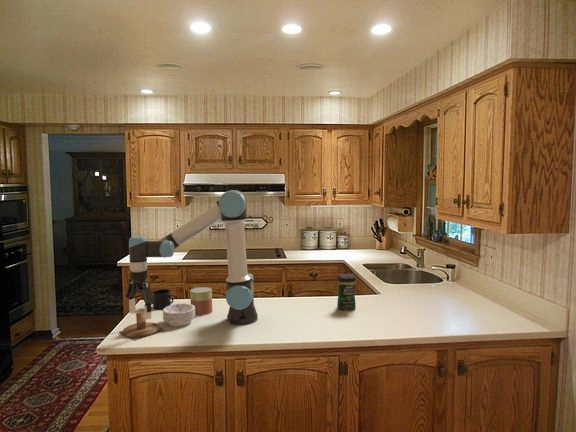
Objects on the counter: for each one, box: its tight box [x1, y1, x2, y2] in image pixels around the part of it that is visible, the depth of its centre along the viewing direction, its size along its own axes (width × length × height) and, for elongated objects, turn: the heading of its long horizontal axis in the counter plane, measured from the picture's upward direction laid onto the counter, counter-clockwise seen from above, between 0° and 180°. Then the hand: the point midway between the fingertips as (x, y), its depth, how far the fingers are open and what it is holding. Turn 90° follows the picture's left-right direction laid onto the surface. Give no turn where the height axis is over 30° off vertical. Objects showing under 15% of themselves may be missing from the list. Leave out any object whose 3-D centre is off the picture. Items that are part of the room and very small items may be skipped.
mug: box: [151, 288, 174, 311], centre depth 229 cm, size 9×12×9 cm
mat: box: [118, 327, 167, 342], centre depth 192 cm, size 16×16×1 cm
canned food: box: [189, 286, 213, 316], centre depth 220 cm, size 11×11×12 cm
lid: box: [122, 311, 161, 339], centre depth 192 cm, size 16×16×8 cm
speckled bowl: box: [162, 303, 196, 327], centre depth 203 cm, size 15×15×8 cm
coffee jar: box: [336, 273, 357, 311], centre depth 222 cm, size 10×8×19 cm
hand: (140, 315), depth 192 cm, fingers open, 13 cm apart
